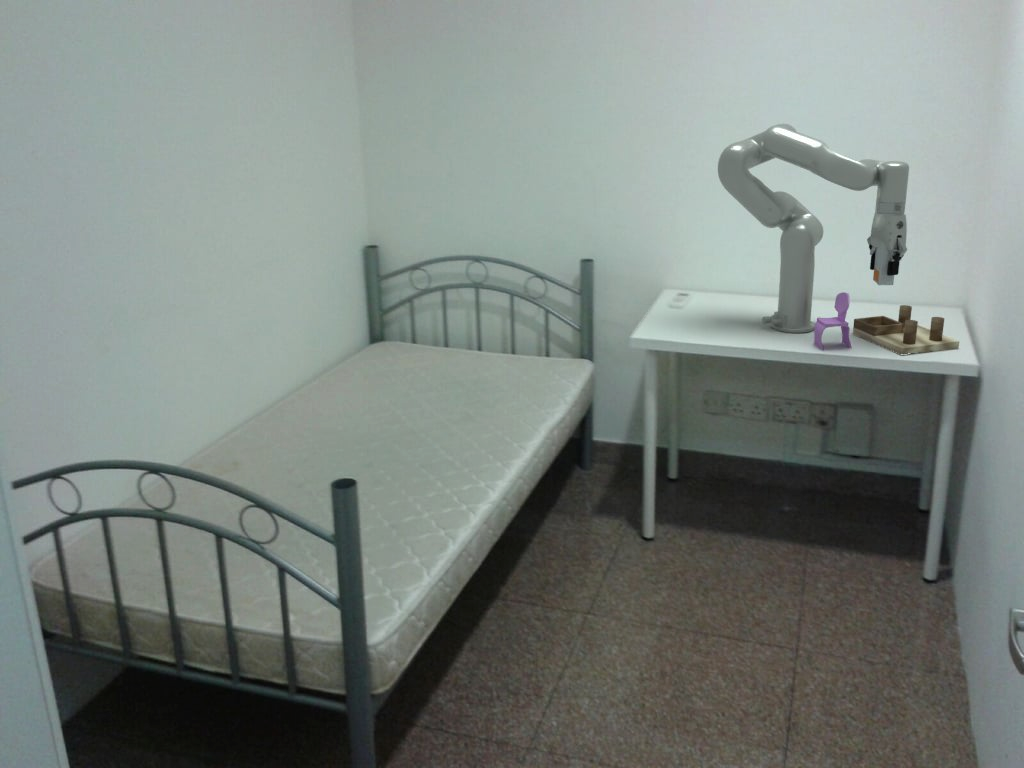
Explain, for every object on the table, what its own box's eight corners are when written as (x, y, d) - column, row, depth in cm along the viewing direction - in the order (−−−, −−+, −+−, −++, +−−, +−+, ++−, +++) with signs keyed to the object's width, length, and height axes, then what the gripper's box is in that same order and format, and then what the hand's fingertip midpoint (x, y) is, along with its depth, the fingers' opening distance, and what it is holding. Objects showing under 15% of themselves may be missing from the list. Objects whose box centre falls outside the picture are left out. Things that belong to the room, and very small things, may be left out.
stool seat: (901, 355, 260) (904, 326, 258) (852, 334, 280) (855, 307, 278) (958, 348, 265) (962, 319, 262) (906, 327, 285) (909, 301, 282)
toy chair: (811, 342, 274) (815, 290, 269) (841, 341, 274) (846, 289, 269) (822, 351, 266) (826, 297, 261) (853, 349, 267) (858, 296, 262)
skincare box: (872, 280, 275) (876, 238, 271) (887, 280, 275) (892, 238, 271) (877, 285, 270) (882, 242, 266) (893, 285, 269) (898, 242, 265)
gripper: (923, 211, 258) (915, 277, 264) (882, 202, 274) (876, 264, 280) (898, 213, 257) (891, 280, 262) (859, 204, 272) (853, 267, 278)
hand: (883, 271), depth 271 cm, fingers closed on skincare box, 7 cm apart
